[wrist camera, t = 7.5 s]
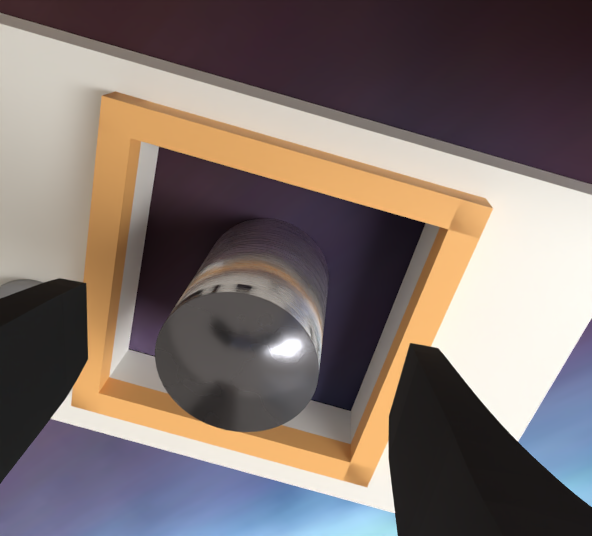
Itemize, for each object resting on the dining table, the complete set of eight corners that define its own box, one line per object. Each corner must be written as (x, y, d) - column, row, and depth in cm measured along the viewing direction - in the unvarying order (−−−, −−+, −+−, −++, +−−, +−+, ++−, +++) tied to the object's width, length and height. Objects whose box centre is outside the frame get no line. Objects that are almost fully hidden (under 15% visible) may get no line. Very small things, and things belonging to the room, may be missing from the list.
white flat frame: (624, 193, 18) (671, 224, 16) (456, 494, 25) (468, 553, 22) (-3, 11, 18) (-67, 10, 15) (-8, 366, 24) (-54, 410, 22)
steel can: (333, 223, 20) (324, 301, 14) (324, 334, 22) (313, 440, 16) (205, 213, 20) (149, 286, 15) (209, 323, 22) (159, 423, 17)
